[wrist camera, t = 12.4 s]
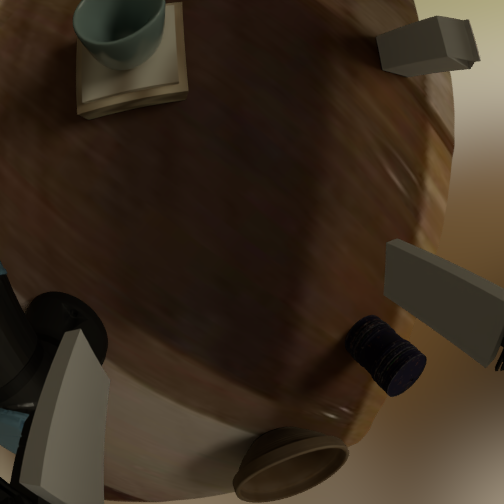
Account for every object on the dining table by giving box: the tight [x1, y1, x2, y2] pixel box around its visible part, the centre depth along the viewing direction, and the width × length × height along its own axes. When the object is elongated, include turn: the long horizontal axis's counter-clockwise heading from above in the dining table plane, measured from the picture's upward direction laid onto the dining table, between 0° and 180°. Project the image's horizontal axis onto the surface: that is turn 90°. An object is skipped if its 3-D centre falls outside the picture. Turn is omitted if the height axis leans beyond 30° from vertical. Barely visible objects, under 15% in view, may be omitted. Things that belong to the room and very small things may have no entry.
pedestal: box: [76, 2, 188, 120], centre depth 25 cm, size 13×13×6 cm
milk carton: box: [376, 16, 480, 77], centre depth 28 cm, size 7×7×19 cm
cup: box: [73, 0, 166, 71], centre depth 17 cm, size 8×8×10 cm
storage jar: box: [345, 315, 427, 397], centre depth 47 cm, size 10×10×15 cm
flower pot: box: [233, 427, 349, 502], centre depth 53 cm, size 28×28×13 cm
